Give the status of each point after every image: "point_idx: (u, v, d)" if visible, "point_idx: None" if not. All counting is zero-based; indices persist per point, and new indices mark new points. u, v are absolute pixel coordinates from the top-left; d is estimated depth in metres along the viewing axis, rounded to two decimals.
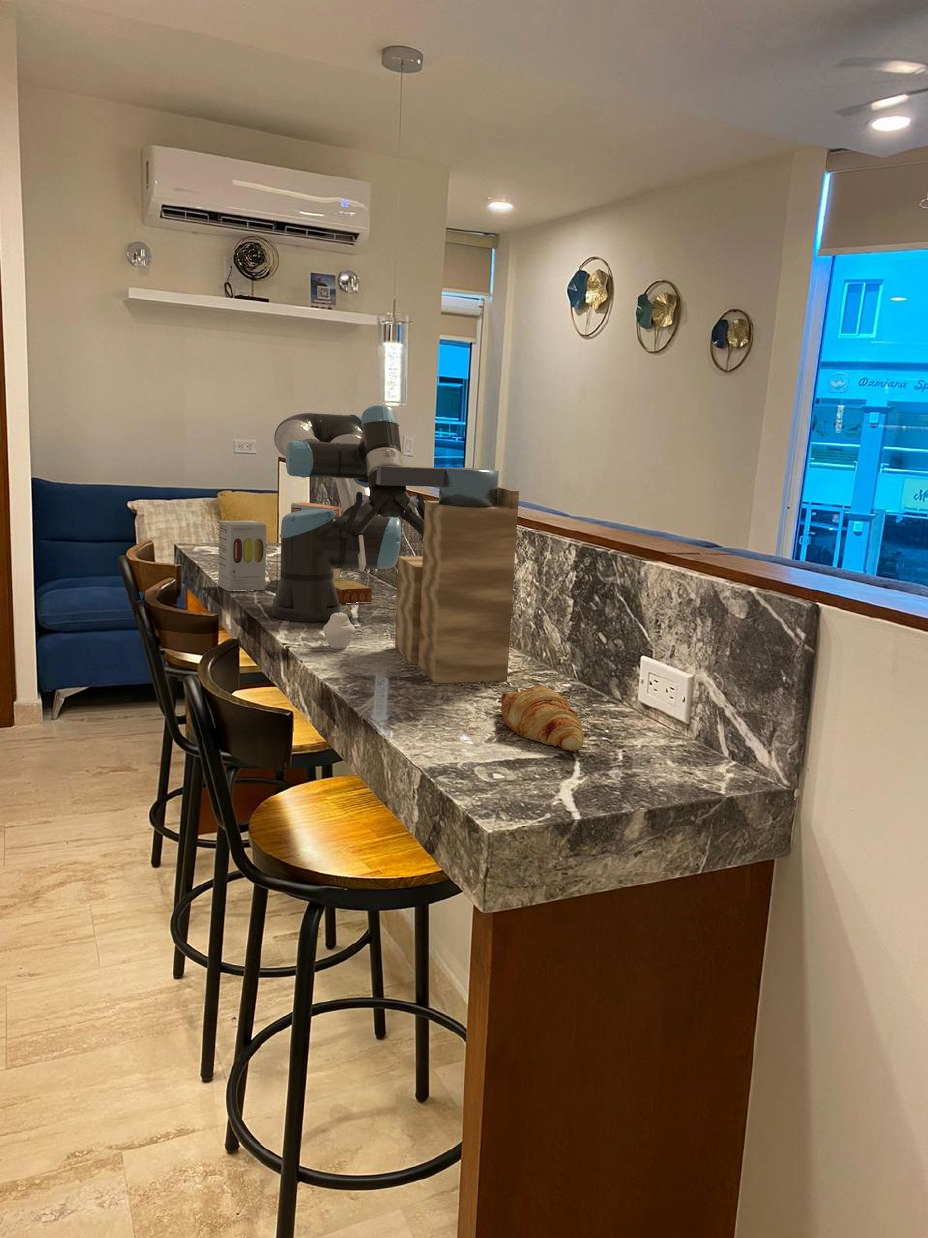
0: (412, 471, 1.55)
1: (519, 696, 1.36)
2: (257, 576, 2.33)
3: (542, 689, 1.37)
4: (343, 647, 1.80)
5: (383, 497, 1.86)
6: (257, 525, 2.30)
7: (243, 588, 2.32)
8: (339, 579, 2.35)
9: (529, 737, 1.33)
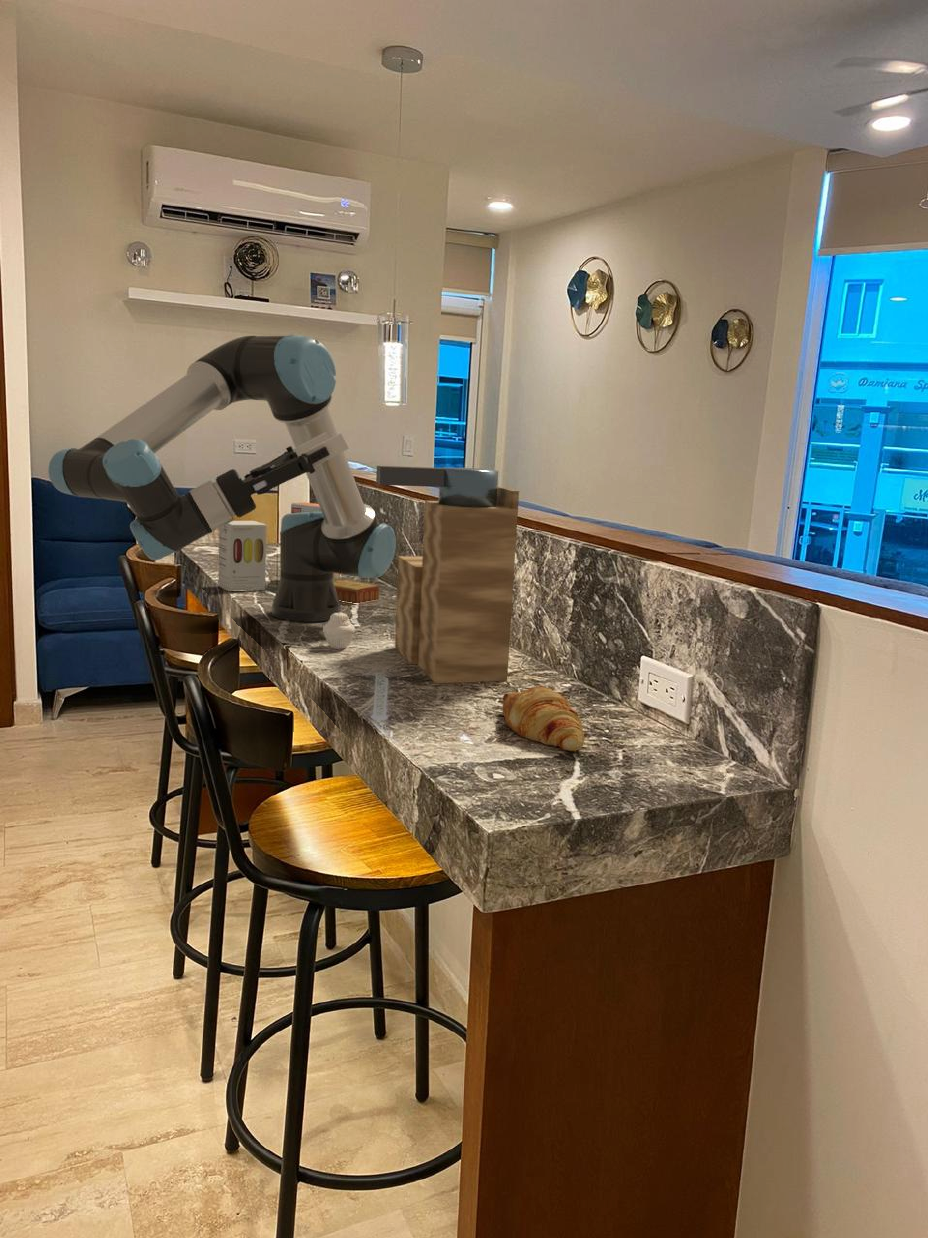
0: (412, 471, 1.55)
1: (520, 696, 1.36)
2: (257, 576, 2.33)
3: (543, 689, 1.37)
4: (343, 647, 1.80)
5: None
6: (257, 525, 2.30)
7: (243, 588, 2.32)
8: None
9: (530, 737, 1.33)
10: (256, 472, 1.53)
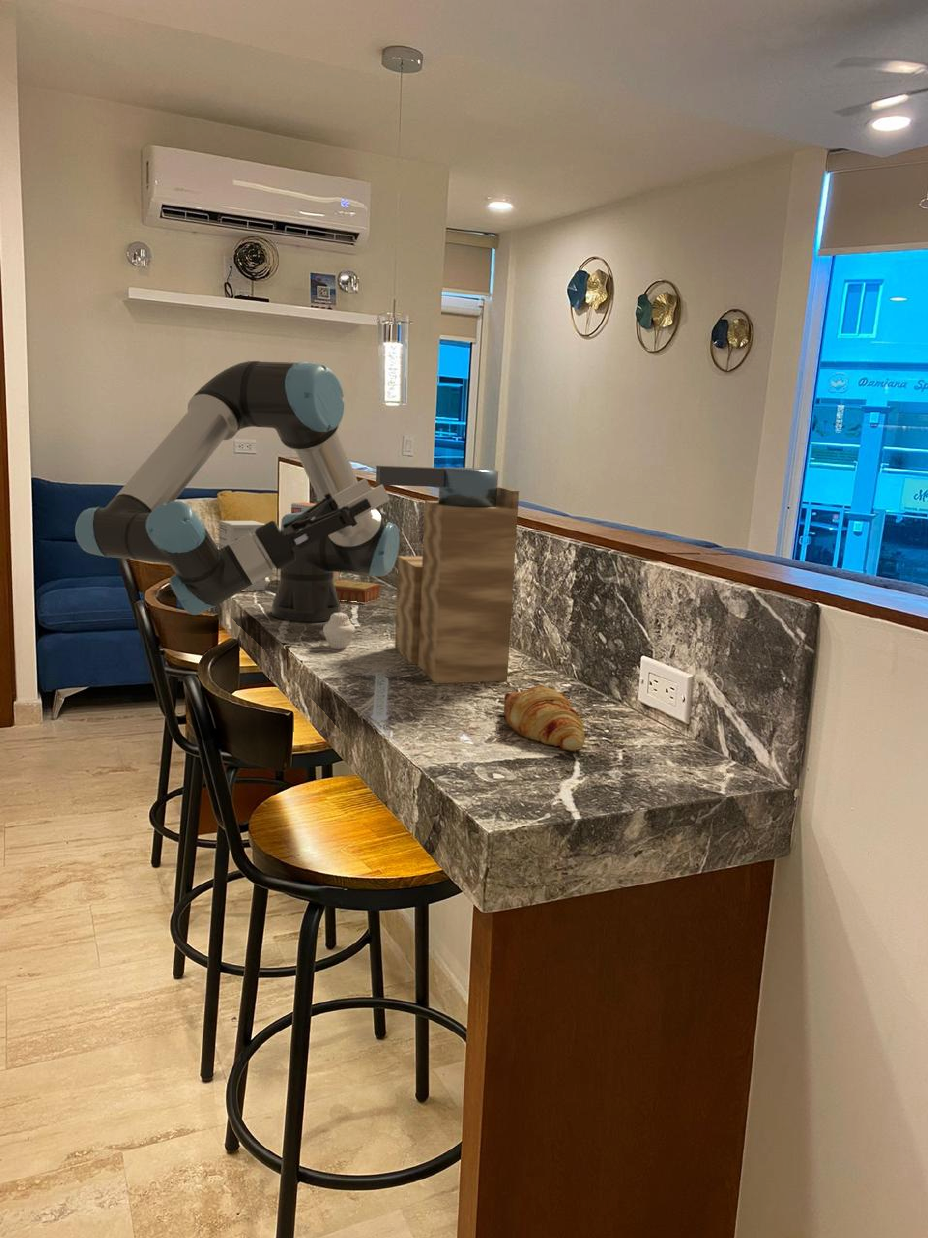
0: (412, 471, 1.55)
1: (521, 696, 1.36)
2: None
3: (544, 689, 1.37)
4: (343, 647, 1.80)
5: None
6: (257, 525, 2.30)
7: None
8: None
9: (530, 737, 1.33)
10: (296, 524, 1.50)
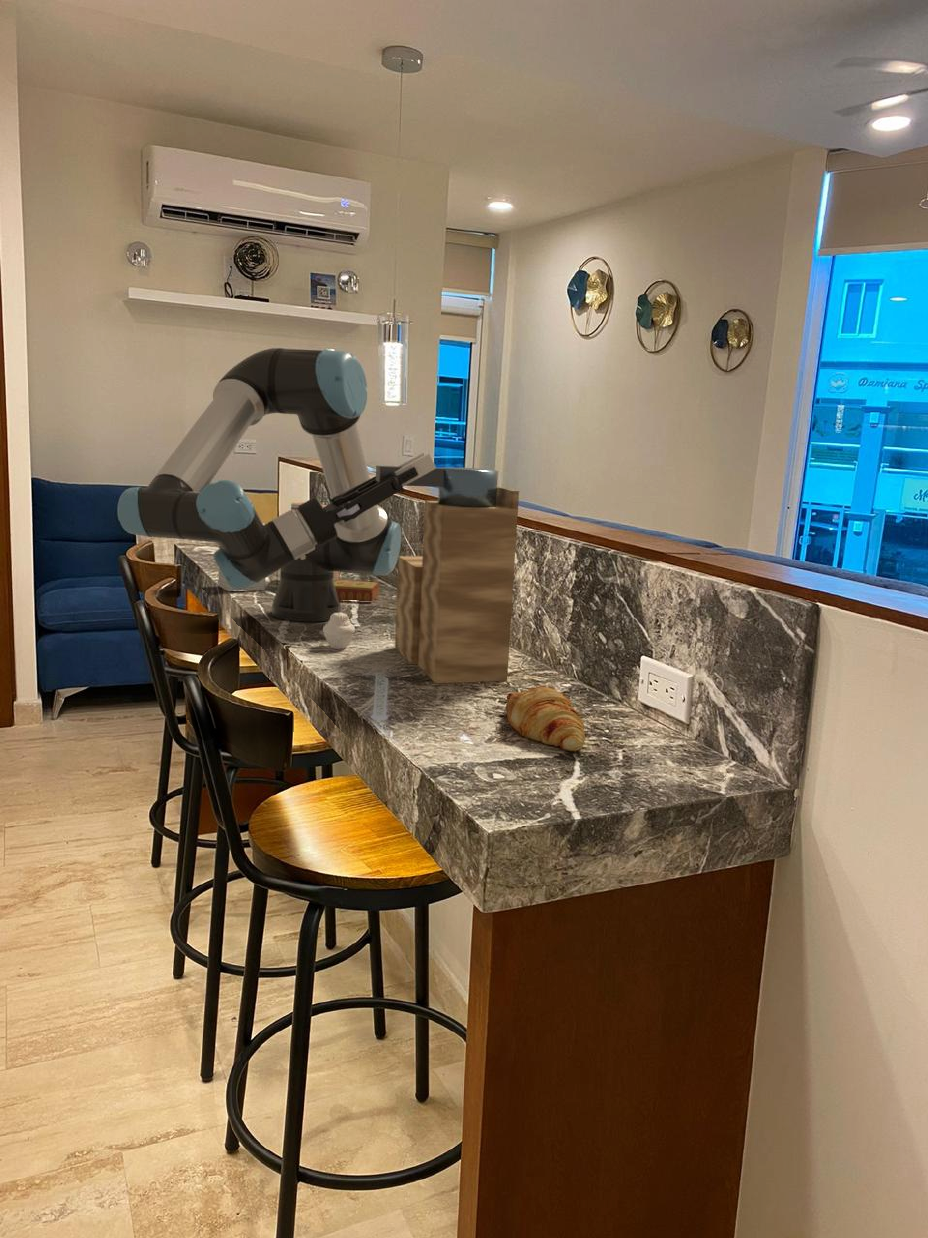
0: None
1: (522, 696, 1.36)
2: None
3: (545, 689, 1.37)
4: (343, 647, 1.80)
5: None
6: None
7: None
8: None
9: (531, 737, 1.33)
10: (341, 499, 1.52)
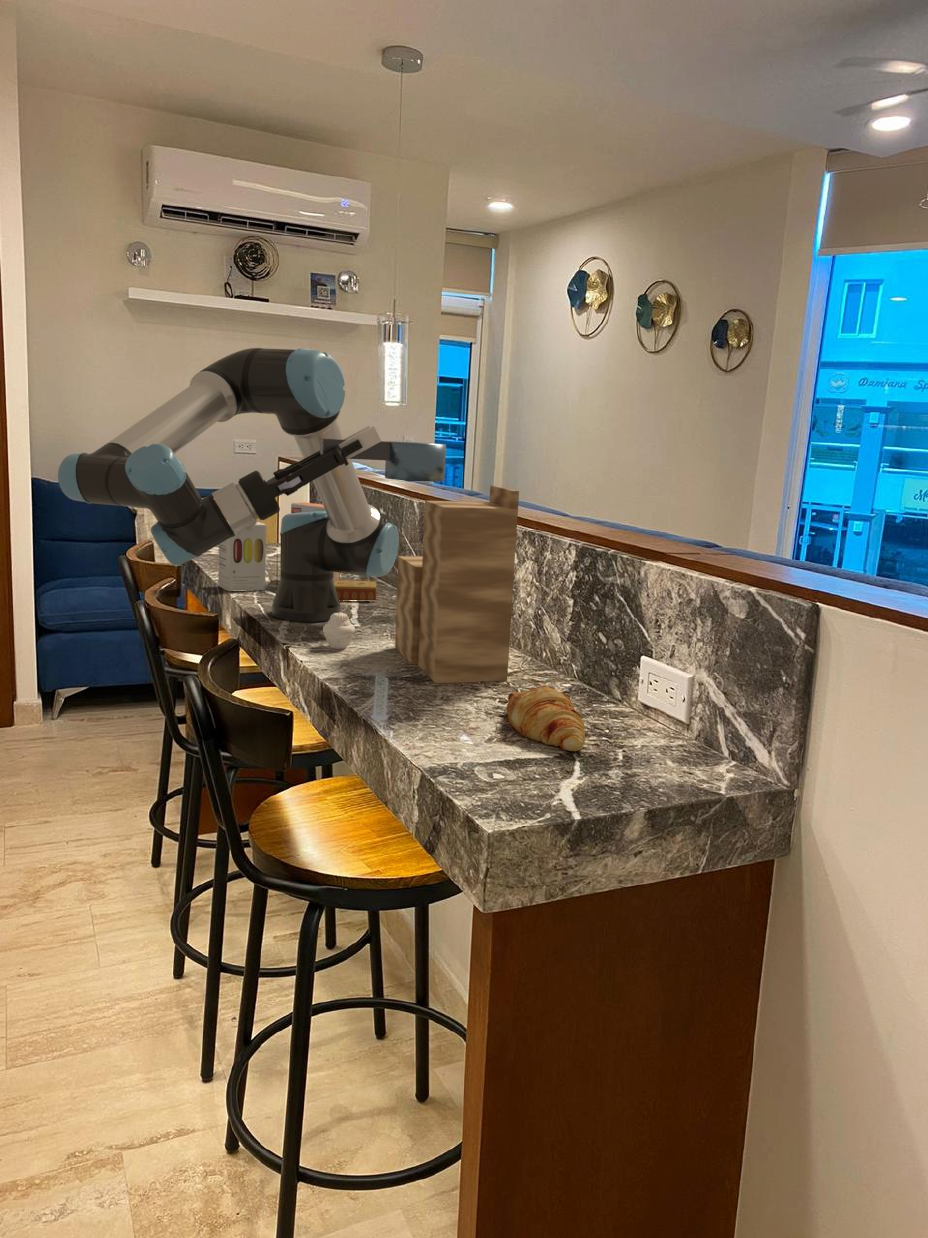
0: None
1: (523, 696, 1.36)
2: (257, 576, 2.33)
3: (546, 689, 1.37)
4: (343, 647, 1.80)
5: None
6: (257, 525, 2.30)
7: (243, 588, 2.32)
8: None
9: (531, 737, 1.33)
10: (283, 472, 1.49)
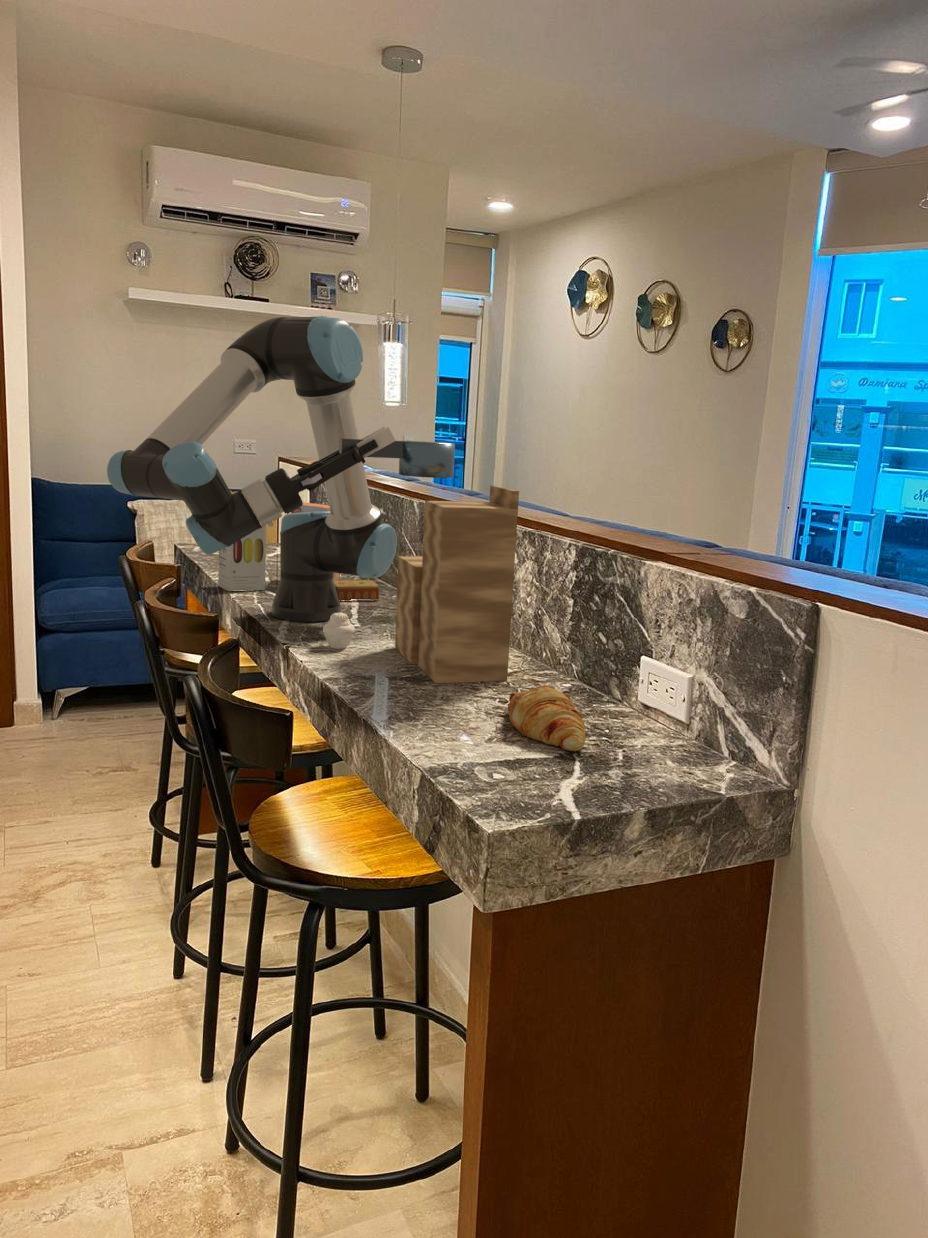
0: None
1: (524, 696, 1.36)
2: (257, 576, 2.33)
3: (547, 689, 1.37)
4: (343, 647, 1.80)
5: None
6: None
7: (243, 588, 2.32)
8: None
9: (532, 736, 1.33)
10: (305, 469, 1.63)
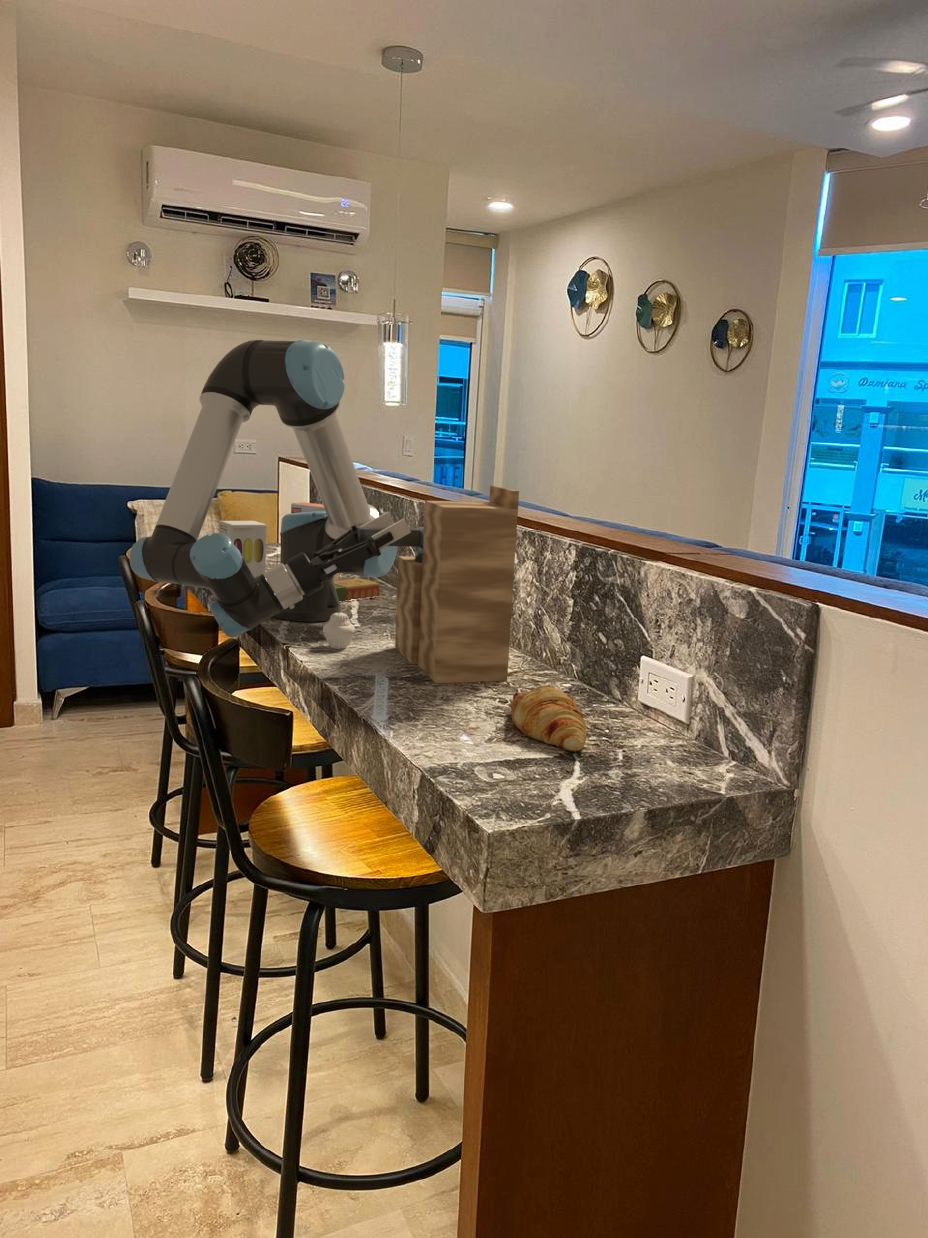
0: None
1: (526, 695, 1.36)
2: (257, 576, 2.33)
3: (549, 689, 1.37)
4: (343, 647, 1.80)
5: None
6: (257, 525, 2.30)
7: None
8: None
9: (533, 736, 1.33)
10: (324, 555, 1.67)
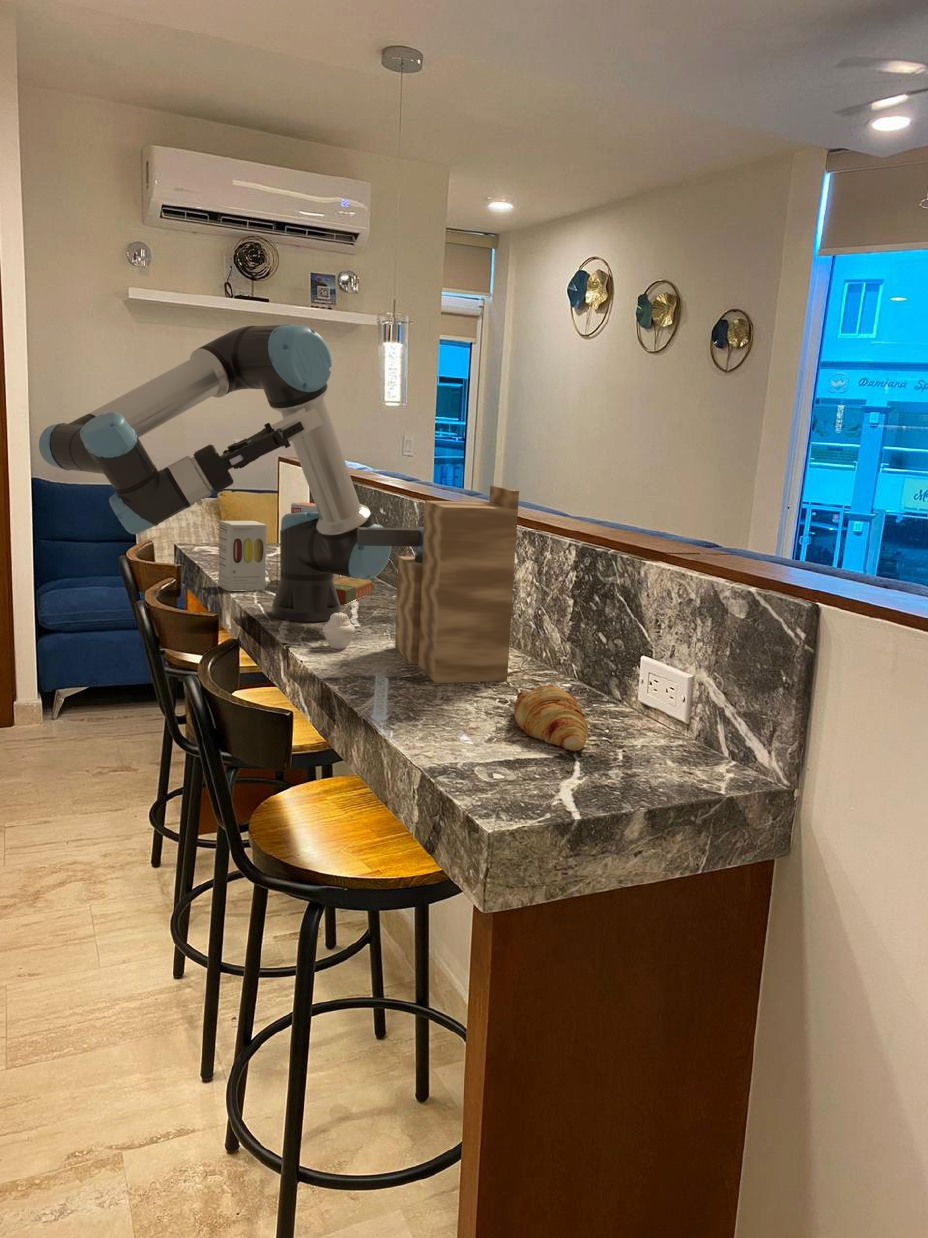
0: (389, 532, 1.71)
1: (528, 695, 1.37)
2: (257, 576, 2.33)
3: (552, 689, 1.37)
4: (343, 647, 1.80)
5: None
6: (257, 525, 2.30)
7: (243, 588, 2.32)
8: None
9: (534, 736, 1.34)
10: (233, 447, 1.56)
